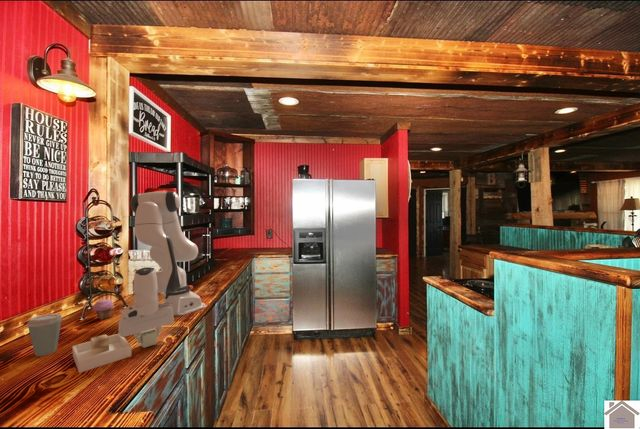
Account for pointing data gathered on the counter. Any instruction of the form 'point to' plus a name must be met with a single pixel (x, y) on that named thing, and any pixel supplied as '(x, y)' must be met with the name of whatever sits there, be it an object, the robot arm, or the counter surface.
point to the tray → (89, 360)
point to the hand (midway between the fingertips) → (148, 339)
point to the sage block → (148, 338)
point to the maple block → (99, 344)
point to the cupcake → (103, 308)
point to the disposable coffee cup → (44, 333)
